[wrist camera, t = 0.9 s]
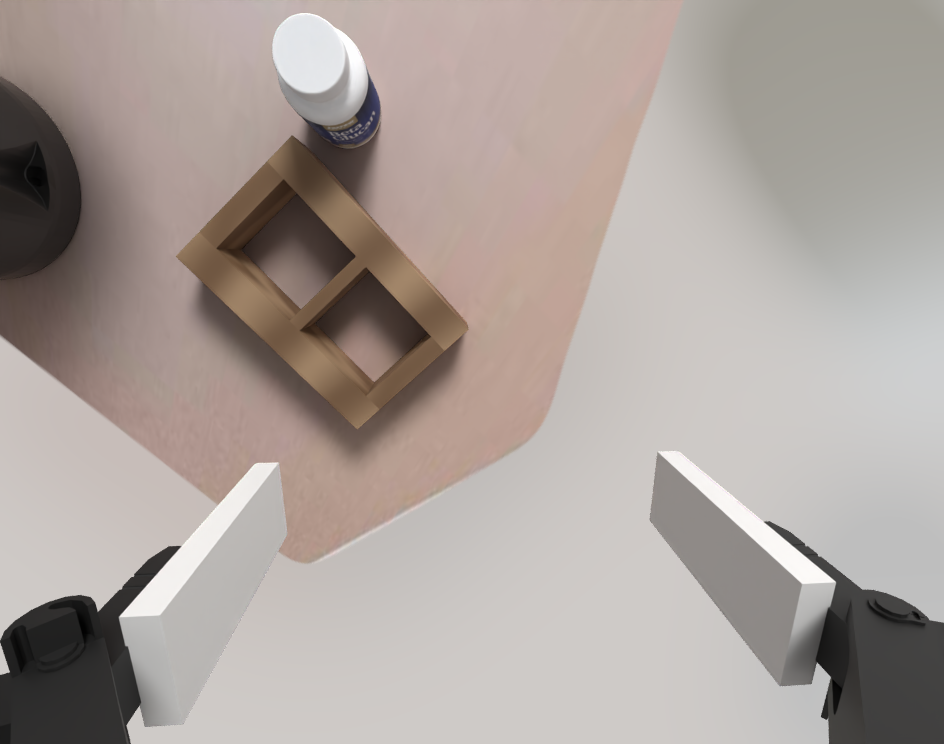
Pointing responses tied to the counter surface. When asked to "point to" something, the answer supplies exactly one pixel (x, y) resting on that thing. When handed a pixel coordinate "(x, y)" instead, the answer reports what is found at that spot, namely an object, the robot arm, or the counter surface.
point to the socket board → (294, 328)
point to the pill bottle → (326, 80)
